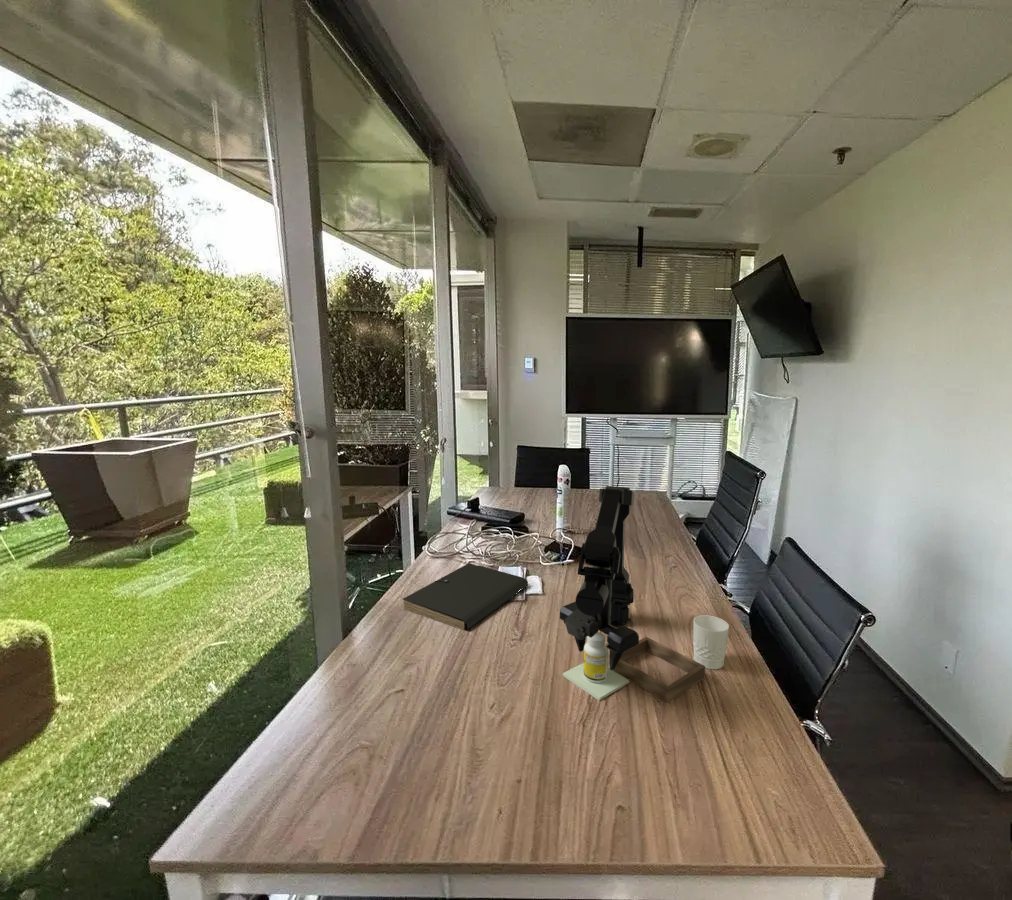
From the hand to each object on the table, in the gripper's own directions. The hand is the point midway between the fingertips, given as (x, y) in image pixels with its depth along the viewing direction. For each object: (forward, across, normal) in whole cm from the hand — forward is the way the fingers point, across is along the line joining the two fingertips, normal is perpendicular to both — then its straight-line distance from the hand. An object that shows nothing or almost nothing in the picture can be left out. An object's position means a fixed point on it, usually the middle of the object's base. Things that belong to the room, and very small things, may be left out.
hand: (596, 660), depth 110 cm
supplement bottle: (+4, 0, 0) cm, 4 cm away
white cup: (+5, +12, +27) cm, 30 cm away
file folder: (+6, -52, 0) cm, 53 cm away
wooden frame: (+5, +7, +13) cm, 15 cm away
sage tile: (+5, 0, 0) cm, 5 cm away
